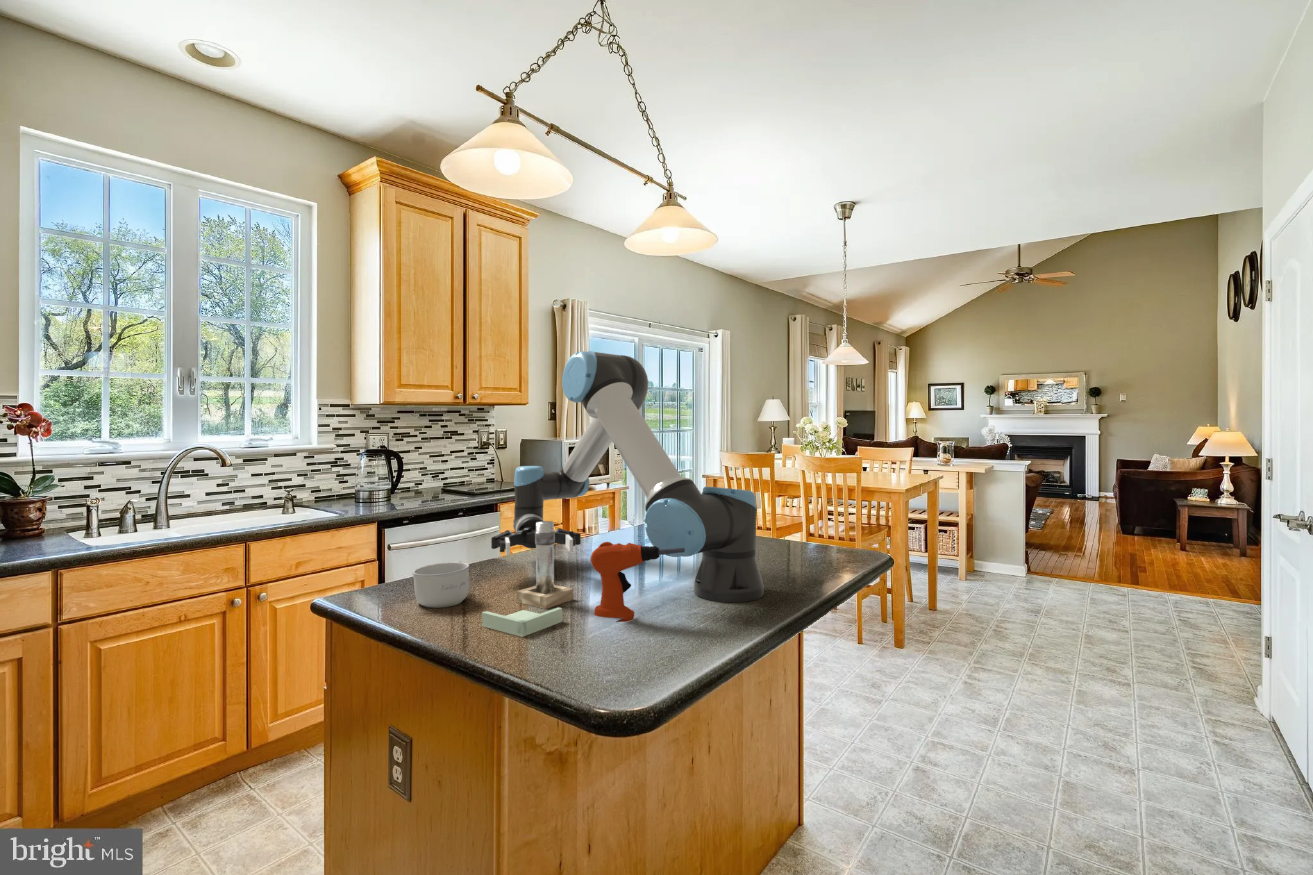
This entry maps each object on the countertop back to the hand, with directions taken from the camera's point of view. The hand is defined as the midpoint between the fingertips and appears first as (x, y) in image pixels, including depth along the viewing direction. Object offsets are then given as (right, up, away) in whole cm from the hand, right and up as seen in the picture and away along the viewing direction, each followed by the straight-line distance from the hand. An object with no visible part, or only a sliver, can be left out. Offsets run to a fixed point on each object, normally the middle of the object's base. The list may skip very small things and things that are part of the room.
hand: (540, 547), depth 135 cm
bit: (+3, -9, -9) cm, 13 cm away
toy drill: (+22, -11, -18) cm, 30 cm away
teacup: (-18, -10, -8) cm, 22 cm away
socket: (+3, -10, -9) cm, 14 cm away
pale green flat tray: (+1, -10, -23) cm, 26 cm away
